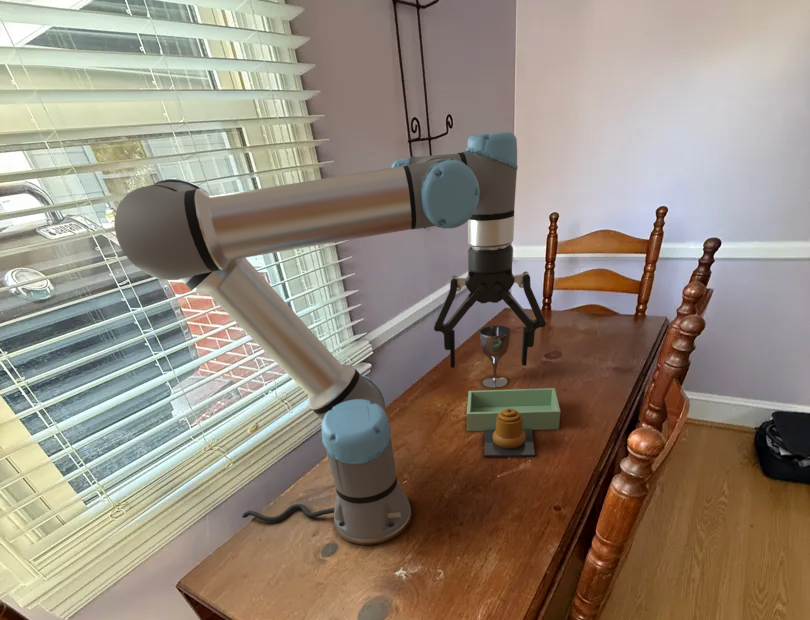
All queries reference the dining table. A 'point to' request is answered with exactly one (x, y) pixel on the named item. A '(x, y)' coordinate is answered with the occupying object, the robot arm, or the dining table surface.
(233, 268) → the robot arm
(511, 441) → the ornamental finial
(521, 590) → the dining table surface
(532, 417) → the tote
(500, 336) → the metal goblet
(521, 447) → the slate tile
